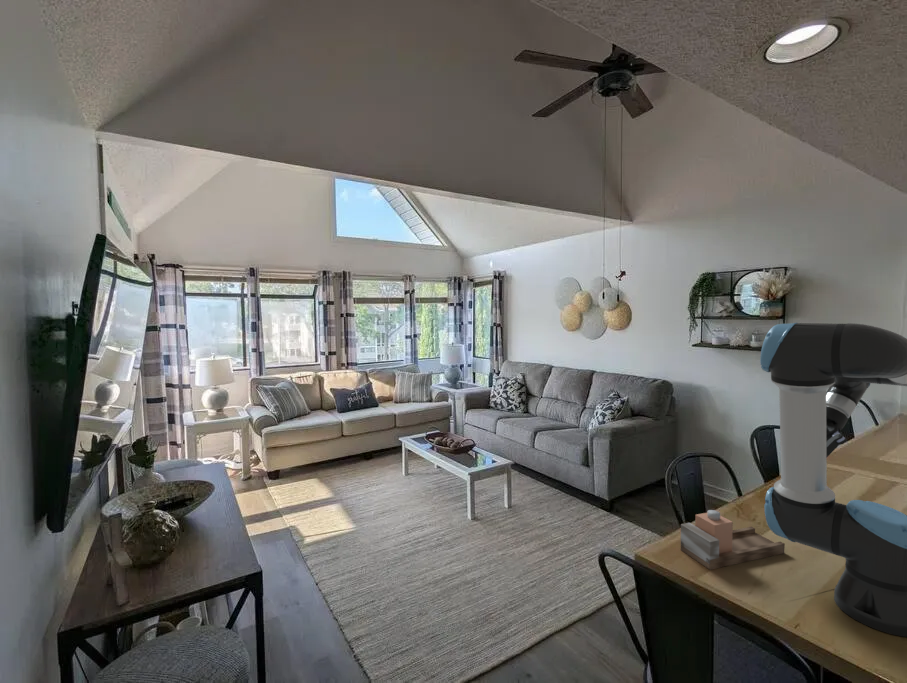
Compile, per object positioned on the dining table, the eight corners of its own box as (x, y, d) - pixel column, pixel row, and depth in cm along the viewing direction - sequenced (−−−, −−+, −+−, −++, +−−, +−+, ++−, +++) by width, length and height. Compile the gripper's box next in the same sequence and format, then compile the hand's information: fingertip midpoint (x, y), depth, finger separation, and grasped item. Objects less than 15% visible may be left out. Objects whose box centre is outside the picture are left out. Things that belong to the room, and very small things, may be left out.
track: (751, 535, 131) (751, 511, 130) (784, 553, 121) (785, 526, 120) (680, 549, 124) (680, 524, 124) (709, 569, 114) (709, 542, 114)
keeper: (712, 542, 125) (712, 505, 124) (732, 554, 118) (732, 516, 118) (695, 545, 123) (695, 509, 122) (714, 557, 117) (714, 519, 116)
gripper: (865, 424, 123) (823, 494, 120) (817, 415, 135) (778, 478, 133) (849, 408, 121) (806, 479, 118) (802, 401, 134) (762, 464, 131)
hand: (792, 478), depth 126 cm, fingers closed
